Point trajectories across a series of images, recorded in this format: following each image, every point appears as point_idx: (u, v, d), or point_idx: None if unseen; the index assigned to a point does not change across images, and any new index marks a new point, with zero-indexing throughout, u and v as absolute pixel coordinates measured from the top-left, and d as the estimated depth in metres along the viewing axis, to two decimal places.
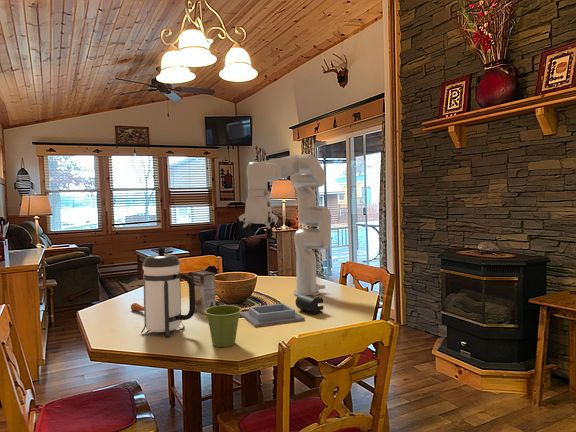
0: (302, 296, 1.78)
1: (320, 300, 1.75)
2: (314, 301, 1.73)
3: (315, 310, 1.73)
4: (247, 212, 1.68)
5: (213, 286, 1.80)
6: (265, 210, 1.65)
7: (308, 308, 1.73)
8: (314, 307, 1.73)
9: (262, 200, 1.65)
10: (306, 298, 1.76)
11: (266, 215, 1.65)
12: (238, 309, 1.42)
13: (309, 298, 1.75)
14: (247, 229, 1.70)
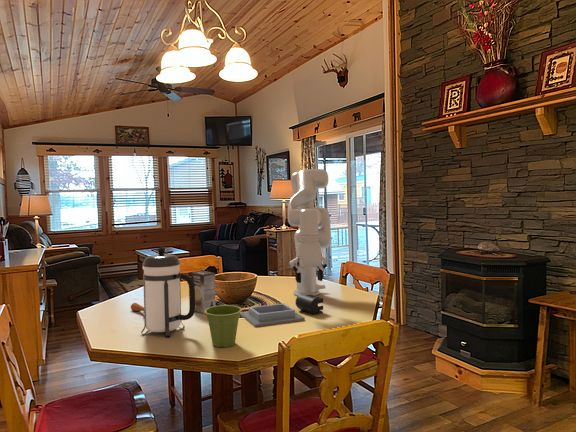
0: (302, 296, 1.78)
1: (320, 300, 1.75)
2: (314, 301, 1.73)
3: (315, 310, 1.73)
4: (304, 257, 1.73)
5: (213, 286, 1.80)
6: (321, 254, 1.77)
7: (308, 308, 1.73)
8: (314, 307, 1.73)
9: (319, 245, 1.76)
10: (306, 298, 1.76)
11: (321, 259, 1.77)
12: (238, 309, 1.42)
13: (309, 298, 1.75)
14: None
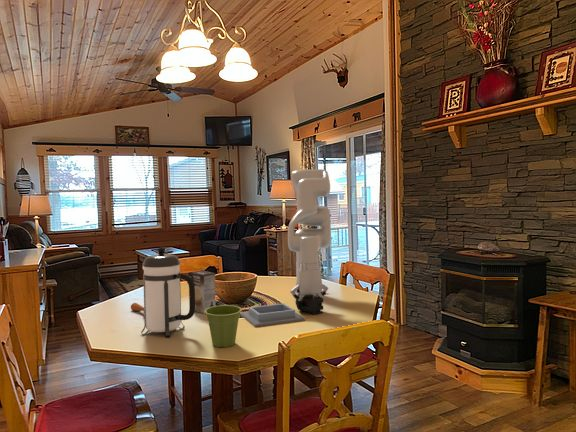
0: None
1: (320, 300, 1.75)
2: (314, 301, 1.73)
3: (315, 310, 1.73)
4: (304, 285, 1.74)
5: (213, 286, 1.80)
6: (321, 281, 1.77)
7: (308, 308, 1.73)
8: (314, 307, 1.73)
9: (319, 272, 1.77)
10: (306, 298, 1.76)
11: (321, 285, 1.78)
12: (238, 309, 1.42)
13: (309, 298, 1.75)
14: None
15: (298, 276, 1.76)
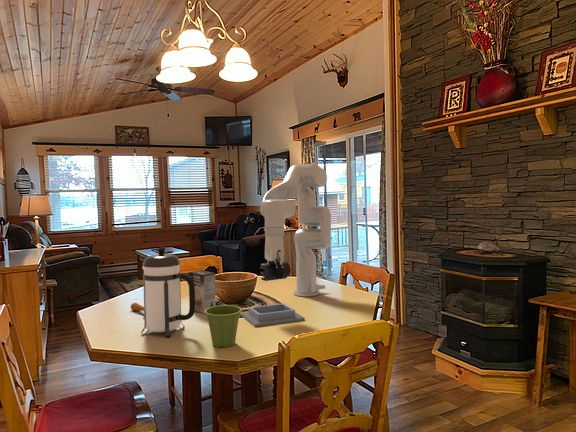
0: (272, 264, 1.67)
1: None
2: None
3: None
4: None
5: (213, 286, 1.80)
6: None
7: (287, 272, 1.69)
8: None
9: None
10: None
11: None
12: (238, 309, 1.42)
13: None
14: None
15: (278, 242, 1.65)
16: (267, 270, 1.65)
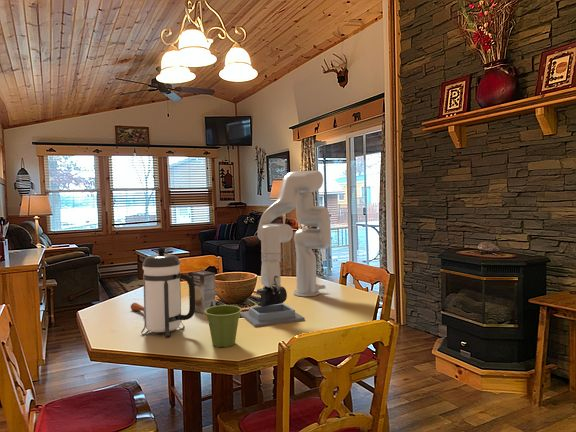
0: (269, 290, 1.67)
1: None
2: None
3: None
4: None
5: (213, 286, 1.80)
6: None
7: (283, 298, 1.69)
8: None
9: None
10: None
11: None
12: (238, 309, 1.42)
13: None
14: None
15: (275, 268, 1.65)
16: (264, 296, 1.65)
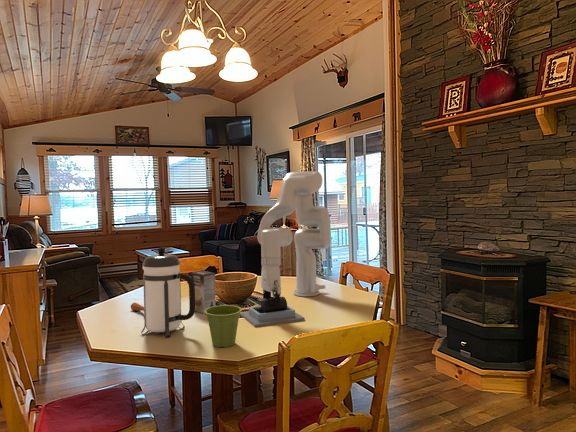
0: (269, 300, 1.67)
1: None
2: None
3: None
4: None
5: (213, 286, 1.80)
6: None
7: (284, 308, 1.70)
8: None
9: None
10: None
11: None
12: (238, 309, 1.42)
13: None
14: None
15: (275, 272, 1.65)
16: (264, 306, 1.66)
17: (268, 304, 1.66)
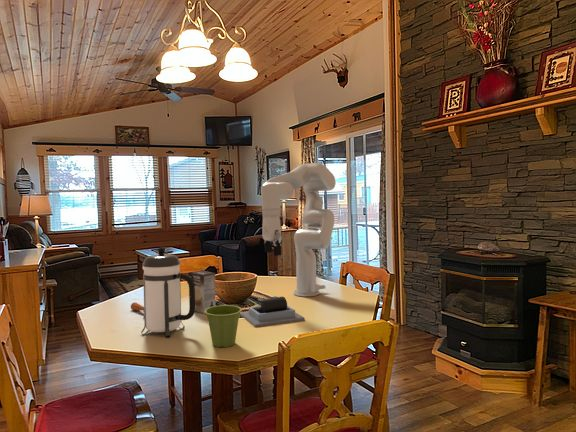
0: (269, 300, 1.67)
1: None
2: None
3: None
4: None
5: (213, 286, 1.80)
6: None
7: (284, 308, 1.70)
8: None
9: None
10: (276, 300, 1.69)
11: None
12: (238, 309, 1.42)
13: (279, 298, 1.70)
14: None
15: (275, 223, 1.77)
16: (264, 306, 1.66)
17: (268, 304, 1.66)
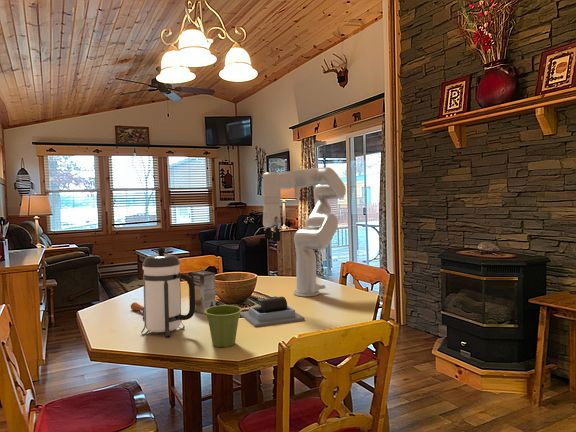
0: (269, 300, 1.67)
1: None
2: None
3: None
4: None
5: (213, 286, 1.80)
6: None
7: (284, 308, 1.69)
8: None
9: None
10: (276, 300, 1.69)
11: None
12: (238, 309, 1.42)
13: (279, 298, 1.70)
14: None
15: (275, 210, 1.85)
16: (264, 306, 1.66)
17: (268, 304, 1.66)
